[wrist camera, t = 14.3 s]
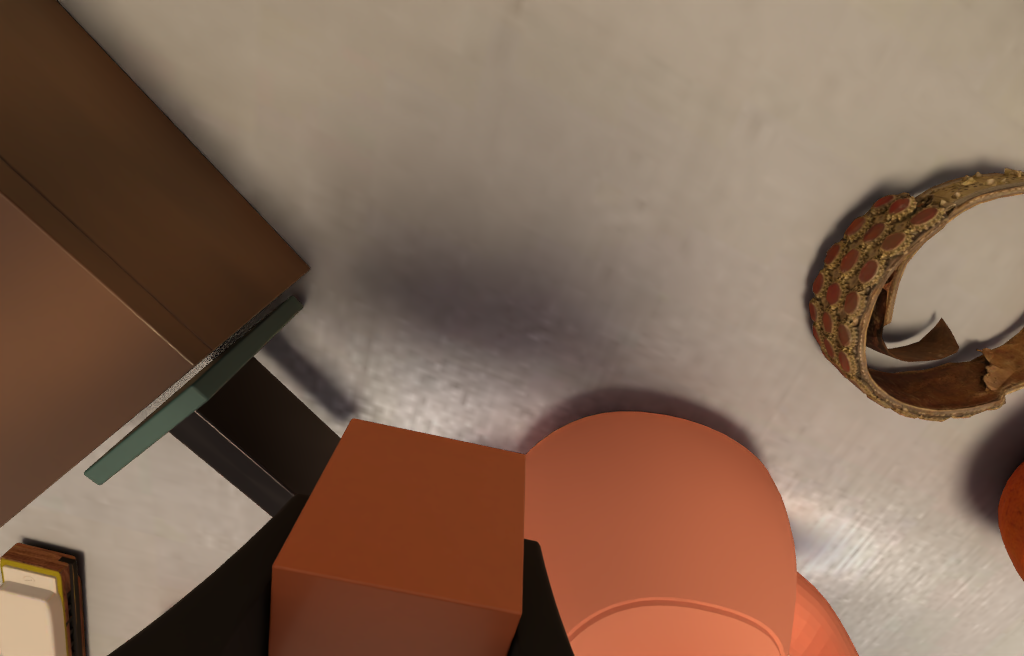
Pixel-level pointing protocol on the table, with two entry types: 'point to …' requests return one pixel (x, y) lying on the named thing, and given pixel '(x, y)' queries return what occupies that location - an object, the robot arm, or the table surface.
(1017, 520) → the fruit
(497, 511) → the block
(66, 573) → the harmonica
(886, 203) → the bracelet
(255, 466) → the door
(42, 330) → the cupboard
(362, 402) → the table surface
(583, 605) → the teapot
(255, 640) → the robot arm
